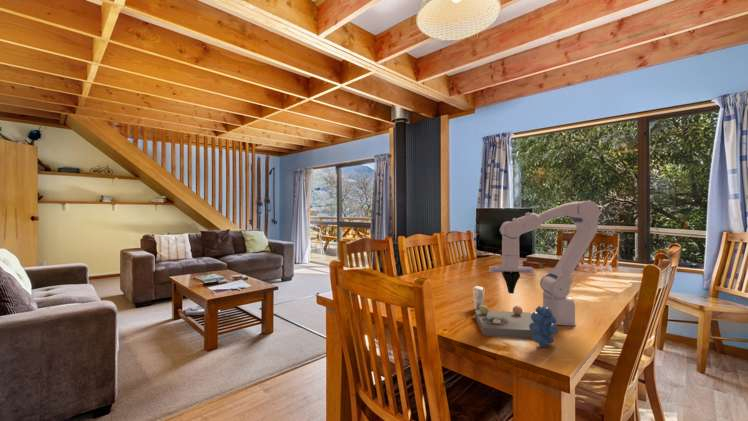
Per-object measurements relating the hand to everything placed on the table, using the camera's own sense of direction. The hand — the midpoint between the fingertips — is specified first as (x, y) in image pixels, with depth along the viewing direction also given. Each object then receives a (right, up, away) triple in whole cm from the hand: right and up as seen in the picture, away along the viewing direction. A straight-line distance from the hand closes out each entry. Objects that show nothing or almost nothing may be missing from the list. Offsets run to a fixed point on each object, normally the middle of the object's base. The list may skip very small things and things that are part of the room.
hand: (510, 292), depth 116 cm
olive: (-10, -6, -1) cm, 11 cm away
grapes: (+1, -10, -23) cm, 25 cm away
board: (-4, -10, -6) cm, 12 cm away
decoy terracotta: (+2, -6, -2) cm, 6 cm away
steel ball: (-8, -8, -8) cm, 14 cm away
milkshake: (-7, -10, +12) cm, 18 cm away
